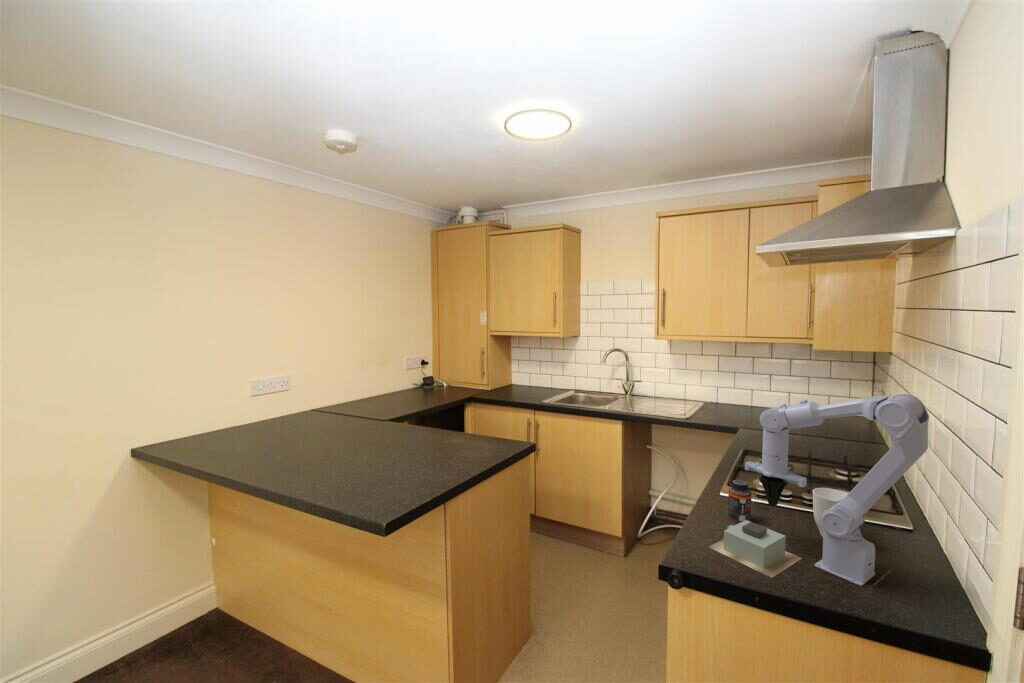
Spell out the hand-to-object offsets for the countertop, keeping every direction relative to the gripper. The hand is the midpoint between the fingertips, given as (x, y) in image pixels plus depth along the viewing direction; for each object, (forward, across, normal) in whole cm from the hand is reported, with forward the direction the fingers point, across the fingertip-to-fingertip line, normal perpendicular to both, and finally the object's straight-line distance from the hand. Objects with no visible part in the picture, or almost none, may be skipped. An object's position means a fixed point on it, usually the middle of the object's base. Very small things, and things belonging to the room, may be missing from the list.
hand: (773, 504), depth 117 cm
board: (+10, 0, -9) cm, 14 cm away
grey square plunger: (+9, 0, -9) cm, 13 cm away
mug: (+10, +7, +17) cm, 21 cm away
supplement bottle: (+11, -12, +5) cm, 17 cm away
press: (+10, 0, -9) cm, 13 cm away
